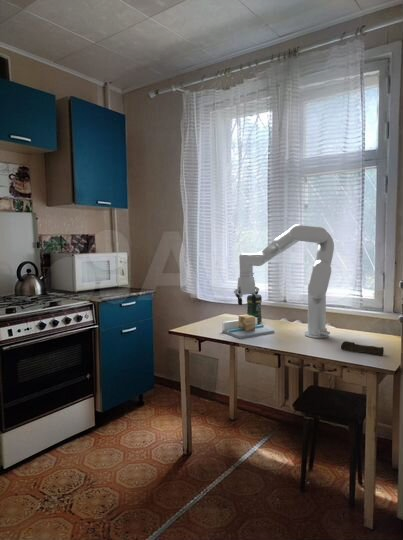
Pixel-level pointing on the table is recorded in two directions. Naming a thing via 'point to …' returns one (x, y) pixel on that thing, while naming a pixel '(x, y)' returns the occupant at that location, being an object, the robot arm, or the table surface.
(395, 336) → the table surface
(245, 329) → the oak block
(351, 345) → the hand tool
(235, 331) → the cleat board
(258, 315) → the coffee jar
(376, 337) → the table surface
